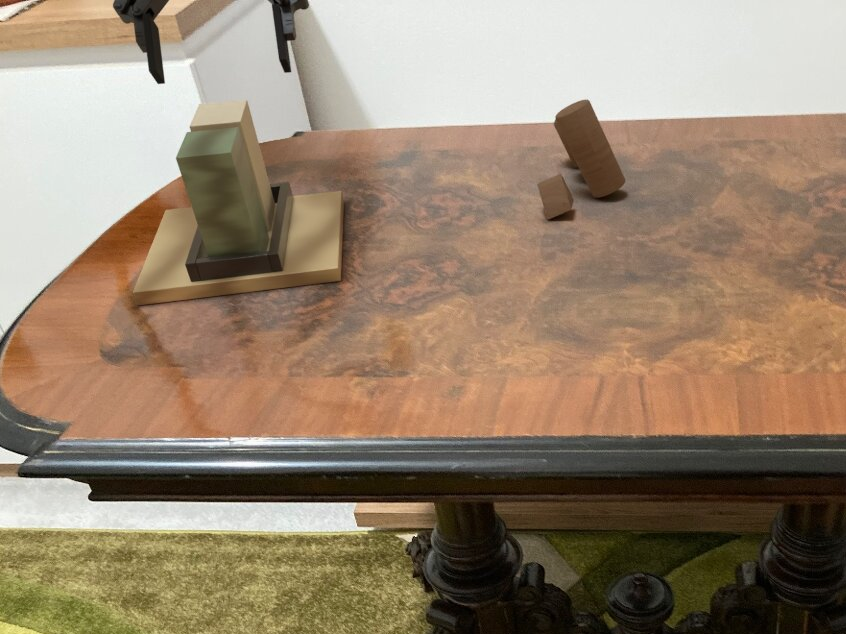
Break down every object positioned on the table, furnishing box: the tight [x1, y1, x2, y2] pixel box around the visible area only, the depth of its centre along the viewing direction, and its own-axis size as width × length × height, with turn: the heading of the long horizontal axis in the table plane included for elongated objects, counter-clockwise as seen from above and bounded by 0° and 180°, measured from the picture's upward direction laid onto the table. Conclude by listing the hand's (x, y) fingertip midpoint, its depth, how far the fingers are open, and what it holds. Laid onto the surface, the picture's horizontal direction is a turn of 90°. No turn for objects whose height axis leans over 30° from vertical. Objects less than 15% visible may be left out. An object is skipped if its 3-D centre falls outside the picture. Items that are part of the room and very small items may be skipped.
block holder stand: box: [132, 127, 345, 306], centre depth 97 cm, size 20×20×14 cm
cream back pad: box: [189, 99, 275, 231], centre depth 99 cm, size 5×7×12 cm
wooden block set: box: [536, 99, 626, 220], centre depth 108 cm, size 18×9×10 cm, turn 176°
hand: (221, 72), depth 101 cm, fingers open, 13 cm apart
